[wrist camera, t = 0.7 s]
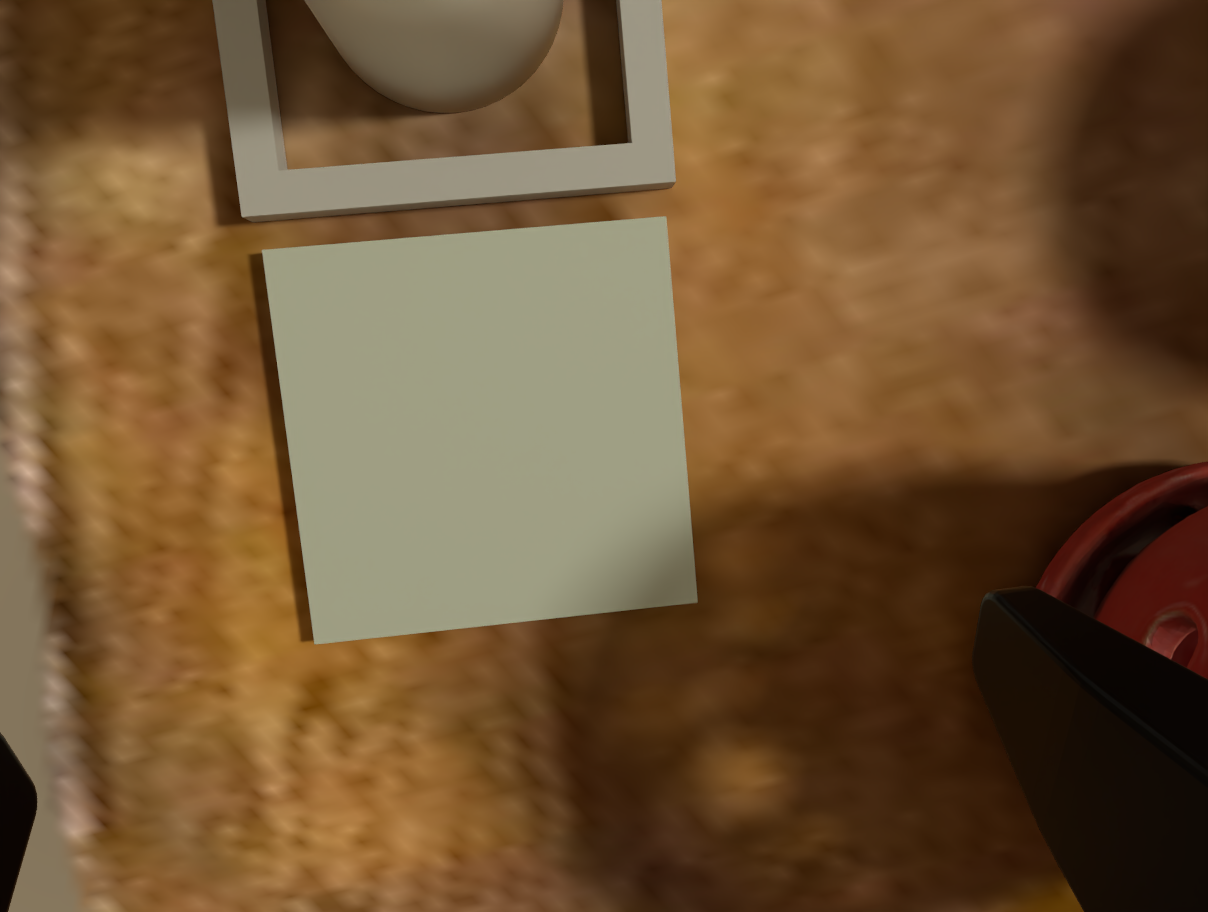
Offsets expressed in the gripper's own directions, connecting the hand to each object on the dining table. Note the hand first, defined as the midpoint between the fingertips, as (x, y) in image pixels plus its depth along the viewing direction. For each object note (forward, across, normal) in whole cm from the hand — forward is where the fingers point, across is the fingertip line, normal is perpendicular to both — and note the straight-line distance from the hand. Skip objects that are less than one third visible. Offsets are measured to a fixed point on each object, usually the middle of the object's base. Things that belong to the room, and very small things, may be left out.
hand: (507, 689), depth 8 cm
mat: (+14, +1, +5) cm, 15 cm away
